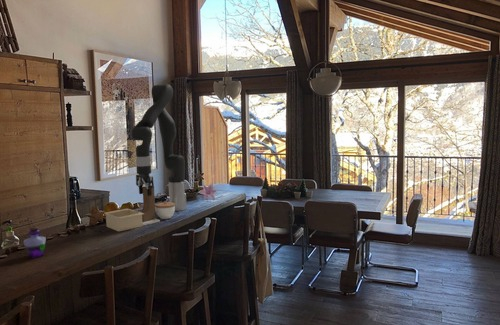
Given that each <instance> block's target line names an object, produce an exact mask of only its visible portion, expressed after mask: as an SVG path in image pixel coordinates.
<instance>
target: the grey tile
mask: <svg viewBox="0 0 500 325" xmlns="http://www.w3.org/2000/svg"><path fill="white" fill-rule="evenodd" d="M160 222H161V219H160V218H159V219H158V218H155V219H152V220H149V221H146V222H142V224H143V226H146V225H152V224H157V223H160Z"/></svg>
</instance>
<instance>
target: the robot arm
mask: <svg viewBox="0 0 500 325" xmlns="http://www.w3.org/2000/svg"><path fill="white" fill-rule="evenodd" d="M173 96H174V89H173V87H172V86H171V85H170V84H167V83H166V84H165V83H163V84H156V85H153V86H152V87H151V97H152V101H153V104H152V105H151V106H150V107H149V108H148V109H146V110H145V112H144V114H143V116H142V118H141V120H139V121H138V122H137V123H136V124H135V125H134V127H133V128H132V130H131V135H130V136H131V138H132V139H133V140H134V141H142V142H141V144H138V145H136V147H135V156H136V158H135V159H136V160H135V164H136V165H135V166H136V168H135V169H136V174H135V185H136V186H137V188H138V193H139V195H143V187H144V186H146V187H147V196H151V195H152V191H151V189H152V188H154V189H155V185H154V176H150V174H151V173H152V161H151V160H152V158H151V154H150V153H151V152H150V151H151V150H150V149H151V148H150V147H151V143H152V139H153V132H152V128H153V127H154V125H155V124H156V121H158V125H159V127H158V128H159V132H160V136H161V143H162V149H163V161H164V165H165V168H166V170H168V171H174V174H173V175H170V176H168V198H169V200H168V202H172V203H175V211H174V212H179V211H184V210H186V209H187V193H186V192H185V177H186V161H185V157H184V156H183V155H180V154H174V149H173V146H174V142H175V139H176V137H177V128H176V122H175V120H174V119H173V117H172V116H171V115H170V113H169V112H168V111H167V109H166V107H167V105H168V104H169V103H170V102H171V100H172V98H173ZM148 186H149V187H148Z"/></svg>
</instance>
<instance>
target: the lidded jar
mask: <svg viewBox="0 0 500 325" xmlns="http://www.w3.org/2000/svg"><path fill="white" fill-rule="evenodd" d="M175 212H176V211H175V203H172V202H169V201H166V200H164V201H163V202H158V203H155V214H156V215H157V217H158V218H159V219H160V220H169V219H171V218H172V217H173V216H174V214H175Z"/></svg>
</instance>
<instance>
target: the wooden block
mask: <svg viewBox="0 0 500 325" xmlns="http://www.w3.org/2000/svg"><path fill="white" fill-rule="evenodd" d="M142 187H143V194H142V201H143V204H142V205H143V206H142V209H141V211H140V212H141V213H144V214H143V215H142V222H146V221H149V220H152V219H155V218H156V207H155V205H156V200H155V199H156V198H155V197H156V196H155V195H156V194H155V187H154V188H152V189H151V191H152V195H151V196H147V187H146V186H145V185H143V186H142ZM148 187H149V186H148ZM156 219H157V218H156Z"/></svg>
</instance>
